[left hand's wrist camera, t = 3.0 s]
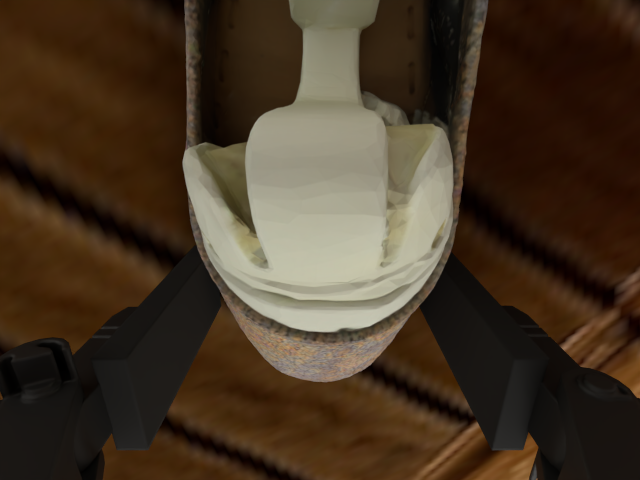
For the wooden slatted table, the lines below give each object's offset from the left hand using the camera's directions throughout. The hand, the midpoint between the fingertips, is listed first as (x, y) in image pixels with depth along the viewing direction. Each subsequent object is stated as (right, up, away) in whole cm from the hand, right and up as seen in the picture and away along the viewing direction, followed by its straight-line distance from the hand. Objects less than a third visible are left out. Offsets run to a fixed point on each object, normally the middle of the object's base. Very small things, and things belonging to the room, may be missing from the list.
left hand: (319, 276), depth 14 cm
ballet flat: (0, +8, -2) cm, 8 cm away
